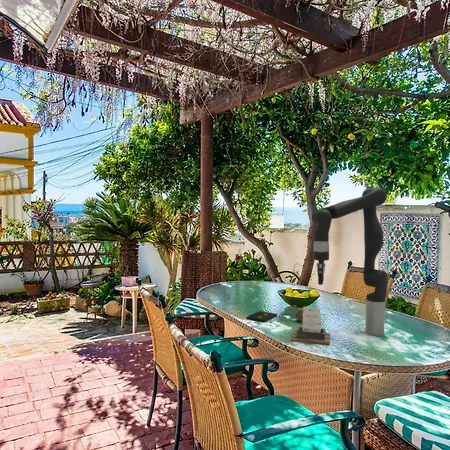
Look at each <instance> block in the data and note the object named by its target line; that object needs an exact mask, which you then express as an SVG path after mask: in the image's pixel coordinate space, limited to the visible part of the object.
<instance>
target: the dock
mask: <svg viewBox="0 0 450 450" xmlns="http://www.w3.org/2000/svg"><path fill="white" fill-rule="evenodd" d="M302 329H303V326H298V328H297V329H294V330H293V332H292V336H291V337H290V342H297V343H305V344H312V345H314V344H315V345H322V346H330V345H331V333H328V332H326V329H325V328H321V333H314V332H304V331H302Z"/></svg>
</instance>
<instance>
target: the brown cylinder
mask: <svg viewBox="0 0 450 450" xmlns="http://www.w3.org/2000/svg"><path fill="white" fill-rule="evenodd" d="M295 317H296V319H297V320H298V321H300V322H301V323H303V309H298V310H297V311H296V314H295Z"/></svg>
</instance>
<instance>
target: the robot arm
mask: <svg viewBox="0 0 450 450" xmlns="http://www.w3.org/2000/svg"><path fill="white" fill-rule="evenodd" d="M387 197H388V196H387V192H386V190H384V189H383V188H380V187H368V188H366V189H364V190H363V192H362V195H361V196H359V197H356V198H351V199H347V200H344V201H341V202H337V203H334V204H332V205H330V206H327V207H322V208H318V209H316V210H315V211H313V212H312V213H311V220H312V222H313V223H315V224H317V228H316V229H315V230H314V231H313V232H314V233H313V248H312V249H313V256H312V259H313V260H314V261H318V262H317V263H316V272H317V281H318V282H317V284H318V285H320V286H321V285H323V284H324V280H325V278H324V277H325V276H324V275H325V271H326V270H325V269H326V262H325V261H329V260H330V240H329V238H330V236H329V235H330V234H329V232H330V230H331V224H332V220H333V219H340V218H342V217H345V216H347V215H350V214H353V213H355V212H358V211H361V210H362V211H363V227H364V228H363V236H364V237H363V240H364V241H363V242H364V260H363V261H364V262H363V263H364V264H363V278H362V279H363V283H364V284H365V285H366V286H367V287H373V288H374V291H373V292H370V293H367V294H366V297H365V326H364V332H365V334H367V335H369V336H376V337H381V336H384V335H385V324H386V323H385V320H386V317H385V315H386V314H385V313H386V299H387V298H386V297H387V295H388V294H387V293H388V283H389V278H388V277H389V276H388V273H387V272H386V271H385V270H382V269H376V268H375V267H376V265H375V264H376V259H377V257H378V255H379V253H380V252H381V251H382V248H383V246H384V231H383V230H384V229H383V227H382V225H381V222H380V221H379V220H380V219H378V216H377V207H378V206H382V205H383V204H385V202H386V201H387Z"/></svg>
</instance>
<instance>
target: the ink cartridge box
mask: <svg viewBox="0 0 450 450" xmlns="http://www.w3.org/2000/svg"><path fill="white" fill-rule="evenodd" d="M302 310H303V322H302V327H303V329H302V331H304V332H314V333H321V329H322V312H321V308H320V307H313V306H303V309H302Z"/></svg>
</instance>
